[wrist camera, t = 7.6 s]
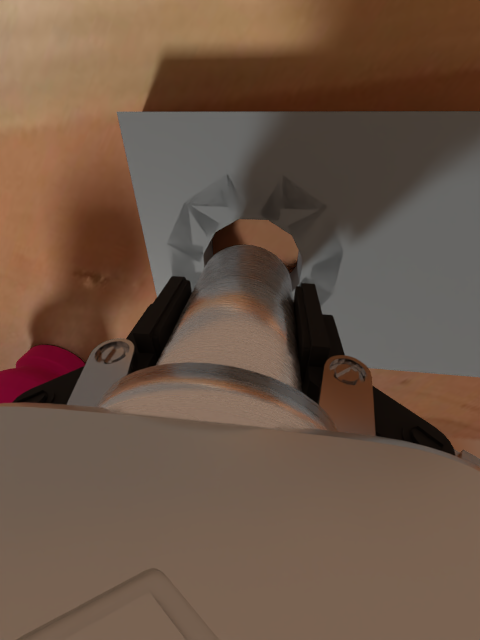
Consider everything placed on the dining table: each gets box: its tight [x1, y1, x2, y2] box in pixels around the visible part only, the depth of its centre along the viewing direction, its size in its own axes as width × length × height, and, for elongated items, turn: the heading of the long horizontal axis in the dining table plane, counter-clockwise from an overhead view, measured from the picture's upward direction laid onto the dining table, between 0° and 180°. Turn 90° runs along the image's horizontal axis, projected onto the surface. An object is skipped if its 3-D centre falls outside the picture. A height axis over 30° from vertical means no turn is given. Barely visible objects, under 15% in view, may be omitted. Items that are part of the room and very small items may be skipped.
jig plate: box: [117, 111, 480, 377], centre depth 15 cm, size 22×14×2 cm, turn 90°
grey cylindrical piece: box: [96, 245, 338, 431], centre depth 9 cm, size 6×6×9 cm
